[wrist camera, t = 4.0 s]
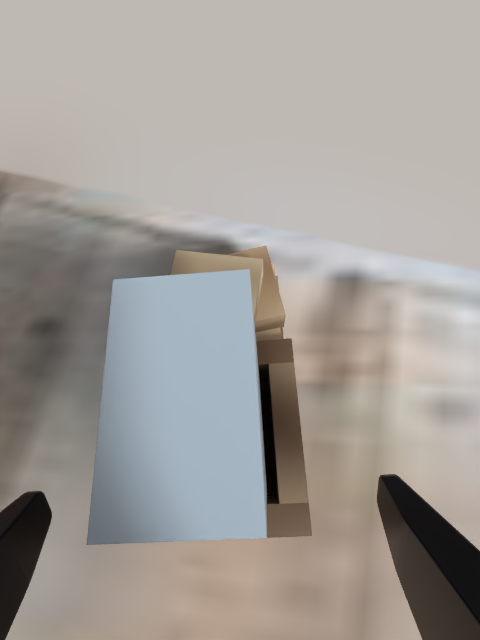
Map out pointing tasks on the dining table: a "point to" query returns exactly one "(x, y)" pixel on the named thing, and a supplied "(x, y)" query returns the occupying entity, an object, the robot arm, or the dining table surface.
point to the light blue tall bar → (180, 414)
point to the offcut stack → (262, 283)
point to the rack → (285, 441)
